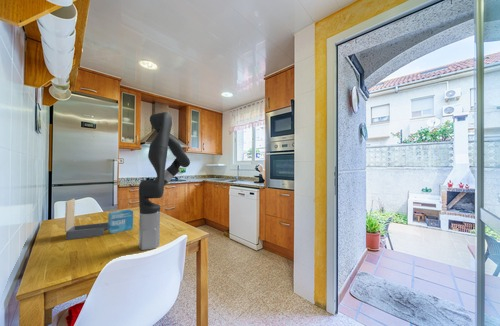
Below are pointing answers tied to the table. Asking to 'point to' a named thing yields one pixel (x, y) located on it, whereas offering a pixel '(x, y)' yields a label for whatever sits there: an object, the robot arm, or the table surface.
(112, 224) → the blue carton
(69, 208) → the mailer box
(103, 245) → the table surface
